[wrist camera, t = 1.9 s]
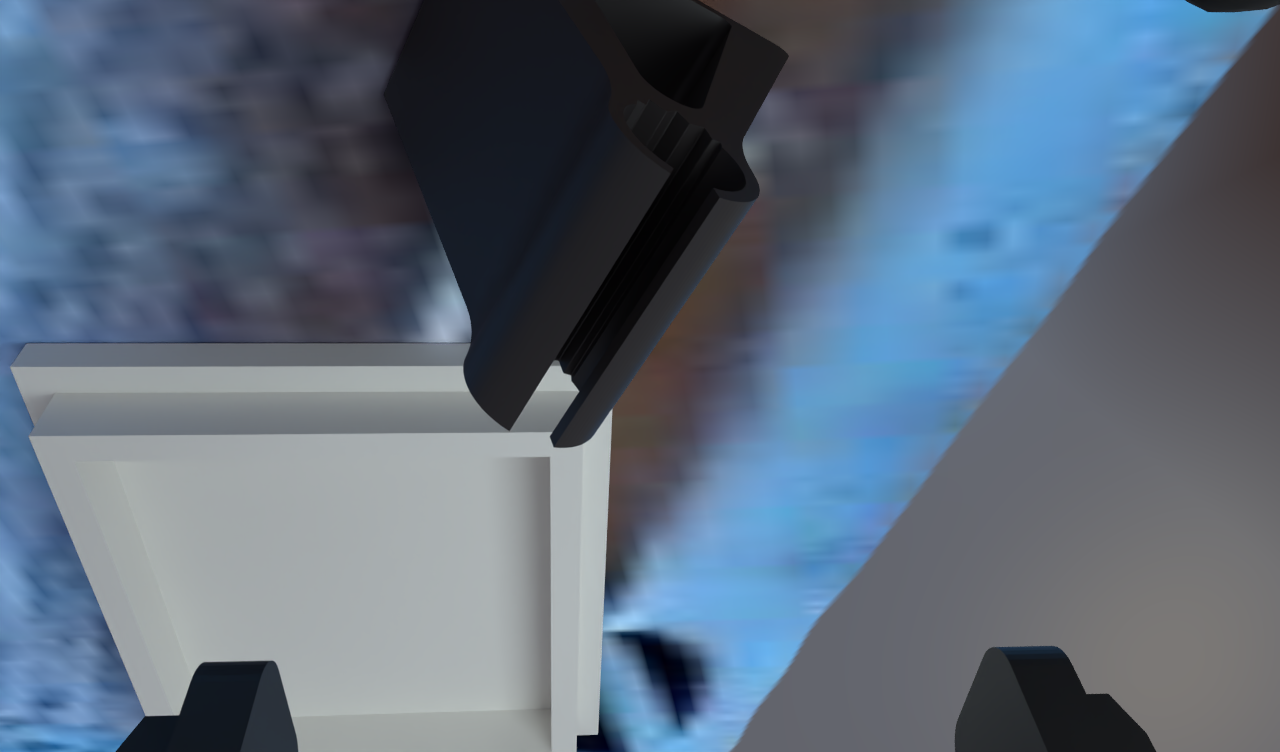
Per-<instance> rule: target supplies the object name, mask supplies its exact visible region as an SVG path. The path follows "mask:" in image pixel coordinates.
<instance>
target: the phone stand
mask: <svg viewBox="0 0 1280 752" xmlns="http://www.w3.org/2000/svg"><path fill="white" fill-rule="evenodd" d="M788 57H789V56H788V54H787V53H786V52H785V51H784V50H783V49H781V48H780V47H779V46H777V45H776V44H774V43H772V42H770V41H768V40H767V39H765V38H763V37H761V36H760V35H758V34H756V33H754V32H753V31H751V30H749V29H747V28H746V27H744V26H742V25H740V24H739V23H737V22H735V21H733V20H732V19H730V18H728V17H726V16H725V15H723V14H721V13H719V12H718V11H716V10H714V9H712V8H711V7H709V6H707V5H705V4H704V3H702V2H700V1H698V0H424V2H423V4H422V6H421V9H420V11H419V13H418V16H417V18H416V20H415V23H414V25H413V27H412V30H411V32H410V34H409V37H408V39H407V41H406V44H405V46H404V48H403V51H402V53H401V55H400V58H399V60H398V62H397V65H396V67H395V69H394V72H393V74H392V76H391V79H390V81H389V83H388V86H387V88H386V90H385V93H384V96H385V99H386V101H387V104H388V106H389V109H390V112H391V114H392V117H393V119H394V122H395V124H396V127H397V129H398V132H399V135H400V137H401V140H402V142H403V145H404V147H405V150H406V152H407V155H408V158H409V160H410V163H411V165H412V168H413V170H414V173H415V176H416V178H417V181H418V183H419V186H420V188H421V191H422V193H423V196H424V199H425V201H426V204H427V206H428V209H429V211H430V214H431V216H432V219H433V222H434V224H435V227H436V229H437V232H438V234H439V237H440V239H441V242H442V245H443V247H444V250H445V252H446V255H447V257H448V260H449V262H450V265H451V268H452V270H453V273H454V275H455V278H456V280H457V283H458V286H459V288H460V291H461V293H462V296H463V298H464V301H465V303H466V306H467V309H468V312H469V315H470V320H471V327H472V337H471V343H470V347H469V350H468V353H467V355H466V357H465V360H464V364H463V373H464V378H465V382H466V385H467V387H468V389H469V391H470V393H471V395H472V396H473V398H474V399H475V401H476V402H477V403H478V405H479V406H480V407H481V408H482V409H483V410H484V411H485V412H486V413H487V414H488V415H489V416H490V417H491V418H492V419H493V420H494V421H496V422H497V423H498V424H499V425H501V426H502V427H504V428H505V429H507V430H508V431H510V430H511V428H512V427H513V425H514V423H515V422H516V420H517V419H518V417H519V415H520V414H521V412H522V411H523V409H524V407H525V406H526V404H527V403H528V401H529V399H530V398H531V396H532V395H533V393H534V391H535V390H536V388H537V387H538V385H539V383H540V382H541V380H542V379H543V377H544V375H545V374H546V372H547V371H548V369H549V367H550V366H551V364H552V363H553V361H554V360H557V361H559V363H560V366H561V369H562V371H563V373H564V374H568V375H571V381H572V383H573V384H574V385H575V386H576V388H577V389H578V390H579V393H578V394H577V396H576V397H575V399H574V400H573V402H572V403H571V405H570V406H569V408H568V409H567V411H566V412H565V414H564V415H563V417H562V418H561V420H560V422H559V423H558V425H557V426H556V428H555V429H554V431H553V432H552V434H551V435H550V439H551V442H552V444H553V447H554V448H570V447H576V446H579V445H582V444H584V443H586V442H587V441H589V440H590V439H591V438H592V437H593V436H594V434H595V433H596V431H597V430H598V428H599V427H600V426H601V424H602V423H603V421H604V420H605V418H606V417H607V415H608V414H609V412H610V411H611V410H612V408H613V407H614V405H615V404H616V402H617V401H618V399H619V398H620V397H621V395H622V394H623V392H624V391H625V389H626V388H627V386H628V385H629V383H630V382H631V381H632V379H633V378H634V376H635V375H636V373H637V372H638V370H639V369H640V367H641V366H642V365H643V363H644V362H645V360H646V359H647V357H648V356H649V354H650V353H651V351H652V350H653V349H654V347H655V346H656V344H657V343H658V341H659V340H660V338H661V337H662V336H663V334H664V333H665V331H666V330H667V328H668V327H669V325H670V324H671V322H672V321H673V320H674V318H675V317H676V315H677V314H678V312H679V311H680V309H681V308H682V306H683V305H684V304H685V302H686V301H687V299H688V298H689V296H690V295H691V293H692V292H693V290H694V289H695V288H696V286H697V285H698V283H699V282H700V280H701V279H702V277H703V276H704V274H705V273H706V272H707V270H708V269H709V267H710V266H711V264H712V263H713V261H714V260H715V259H716V257H717V256H718V254H719V253H720V251H721V250H722V248H723V247H724V245H725V244H726V243H727V241H728V240H729V238H730V237H731V235H732V234H733V232H734V231H735V229H736V228H737V227H738V225H739V224H740V222H741V221H742V219H743V218H744V216H745V215H746V213H747V212H748V211H749V209H750V208H751V206H752V205H753V203H754V202H755V200H756V199H757V198H758V196H759V192H760V189H759V184H758V182H757V180H756V178H755V176H754V174H753V172H752V171H751V169H750V167H749V165H748V163H747V161H746V159H745V156H744V153H743V148H742V142H743V138H744V136H745V134H746V132H747V131H748V129H749V127H750V125H751V123H752V122H753V120H754V118H755V116H756V114H757V113H758V111H759V109H760V107H761V105H762V104H763V102H764V100H765V98H766V96H767V95H768V93H769V91H770V89H771V87H772V86H773V84H774V82H775V80H776V78H777V77H778V75H779V73H780V71H781V69H782V68H783V66H784V64H785V62H786V60H787V59H788Z"/></svg>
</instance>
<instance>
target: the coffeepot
mask: <svg viewBox="0 0 1280 752" xmlns="http://www.w3.org/2000/svg"><path fill="white" fill-rule="evenodd" d="M1186 1H1187V2H1189V3H1191V4H1193V5H1195V6H1197V7H1199V8H1201V9H1203V10H1205V11H1207V12H1242V11H1252V10H1263V9H1268V8H1271V7H1274V6H1276V5H1279V4H1280V0H1186Z"/></svg>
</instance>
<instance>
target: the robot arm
mask: <svg viewBox="0 0 1280 752" xmlns="http://www.w3.org/2000/svg"><path fill="white" fill-rule="evenodd" d="M116 752H298V742H297V736H296V732H295V729H294V725H293V721H292V717H291V714H290V710H289V706H288V702H287V699H286V695H285V691H284V688H283V684H282V680H281V676H280V673H279V669H278V666H277V664H276V663H275V662H274V661H225V662H203V663H201V664H200V665H199V666H198V668H197V669H196V671H195V673H194V675H193V677H192V679H191V682H190V685H189V688H188V691H187V694H186V697H185V699H184V702H183V705H182V708H181V711H180V714H179V715H168V716H145V717H144V718H143V719H142V721H141V722H140V723H139V724H138V725H137V727H136V728H135V729H134V730H133V731H132V733H131V734H130V735H129V736H128V737H127V739H126V740H125V741H124V742H123V743H122V745H121V746H120V747H119V748H118V749H117V751H116ZM955 752H1156V750H1155V749H1154V747H1153V745H1152V743H1151V741H1150V739H1149V737H1148V735H1147V734H1146V732H1145V731H1144V730H1143V729H1142V728H1141V727H1140V726H1139V725H1138V724H1137V723H1136V722H1135V721H1134V720H1133V719H1132V718H1131V717H1130V716H1129V715H1128V714H1127V713H1126V712H1125V711H1124V710H1123V709H1122V708H1121V707H1120V705H1119V704H1118V703H1117V702H1116V701H1115V700H1114V699H1113V698H1112V697H1111V696H1110V695H1109V694H1086V693H1085V690H1084V688H1083V686H1082V684H1081V682H1080V680H1079V678H1078V676H1077V674H1076V672H1075V670H1074V668H1073V666H1072V664H1071V662H1070V660H1069V658H1068V657H1067V655H1066V654H1065V653H1064V652H1063V651H1062V650H1061V649H1060V648H1058V647H1055V646H1028V647H992V648H990V649H988V650H987V651H986V653H985V655H984V657H983V659H982V662H981V664H980V666H979V669H978V671H977V674H976V676H975V679H974V681H973V684H972V686H971V688H970V691H969V693H968V696H967V698H966V701H965V703H964V706H963V708H962V711H961V713H960V715H959V718H958V721H957V724H956V730H955Z"/></svg>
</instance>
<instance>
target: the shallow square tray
mask: <svg viewBox="0 0 1280 752" xmlns="http://www.w3.org/2000/svg"><path fill="white" fill-rule="evenodd" d="M469 347H470V343H27V344H26V345H25V346H24V348H23V349H22V351H21V352H20V353H19V355H18V356H17V358H16V359H15V361H14V362H13V363H12V365H11V366H10V368H11V371H12V373H13V375H14V378H15V380H16V383H17V385H18V388H19V390H20V392H21V395H22V397H23V400H24V402H25V405H26V407H27V409H28V412H29V414H30V417H31V419H32V422H33V424H34V426H35V427H34V428H33V430H32V431H31V433H30V435H29V439H30V441H31V443H32V446H33V448H34V451H35V453H36V455H37V458H38V460H39V463H40V465H41V467H42V470H43V472H44V474H45V477H46V479H47V482H48V484H49V486H50V489H51V491H52V494H53V496H54V498H55V501H56V503H57V505H58V508H59V510H60V513H61V515H62V517H63V520H64V522H65V525H66V527H67V529H68V532H69V534H70V536H71V539H72V541H73V544H74V546H75V548H76V551H77V553H78V555H79V558H80V560H81V563H82V565H83V567H84V570H85V572H86V575H87V577H88V579H89V582H90V584H91V586H92V589H93V591H94V594H95V596H96V598H97V601H98V603H99V606H100V608H101V610H102V613H103V615H104V617H105V620H106V622H107V625H108V627H109V629H110V632H111V634H112V637H113V639H114V641H115V644H116V646H117V648H118V651H119V653H120V656H121V658H122V660H123V663H124V665H125V668H126V670H127V672H128V675H129V677H130V679H131V682H132V684H133V687H134V689H135V691H136V694H137V696H138V699H139V701H140V703H141V706H142V708H143V710H144V713H145V715H146V716H168V715H179V714H180V711H181V708H182V705H183V702H184V699H185V697H186V694H187V691H188V688H189V685H190V682H191V679H192V677H193V675H194V673H195V671H196V669H197V668H198V666H199V665H200V664H201V663H203V662H225V661H274V662H275V663H276V664H277V666H278V669H279V673H280V676H281V680H282V684H283V688H284V691H285V695H286V699H287V702H288V706H289V710H290V714H291V717H292V721H293V725H294V729H295V732H296V736H297V742H298V752H576V742H577V735H598V720H599V698H600V675H601V652H602V630H603V607H604V584H605V562H606V539H607V517H608V494H609V471H610V449H611V426H612V410H611V411H610V412H609V414H608V415H607V417H606V418H605V420H604V421H603V423H602V424H601V426H600V427H599V428H598V430H597V431H596V433H595V434H594V436H593V437H592V438H591V439H590V440H589V441H587V442H586V443H584V444H582V445H579V446H576V447H570V448H554V447H553V444H552V442H551V439H550V435H551V434H552V432H553V431H554V429H555V428H556V426H557V425H558V423H559V422H560V420H561V418H562V417H563V415H564V414H565V412H566V411H567V409H568V408H569V406H570V405H571V403H572V402H573V400H574V399H575V397H576V396H577V394H578V393H579V390H578V389H577V388H576V386H575V385H574V384H573V383H572V381H571V375H568V374H564V373H563V371H562V369H561V366H560V363H559V361H557V360H554V361H553V363H552V364H551V366H550V367H549V369H548V371H547V372H546V374H545V375H544V377H543V379H542V380H541V382H540V383H539V385H538V387H537V388H536V390H535V391H534V393H533V395H532V396H531V398H530V399H529V401H528V403H527V404H526V406H525V407H524V409H523V411H522V412H521V414H520V415H519V417H518V419H517V420H516V422H515V423H514V425H513V427H512V428H511V430H510V431H508V430H507V429H505V428H504V427H502V426H501V425H499V424H498V423H497V422H496V421H494V420H493V419H492V418H491V417H490V416H489V415H488V414H487V413H486V412H485V411H484V410H483V409H482V408H481V407H480V406H479V405H478V403H477V402H476V401H475V399H474V398H473V396H472V395H471V393H470V391H469V389H468V387H467V385H466V382H465V378H464V373H463V364H464V360H465V357H466V355H467V353H468V350H469Z"/></svg>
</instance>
